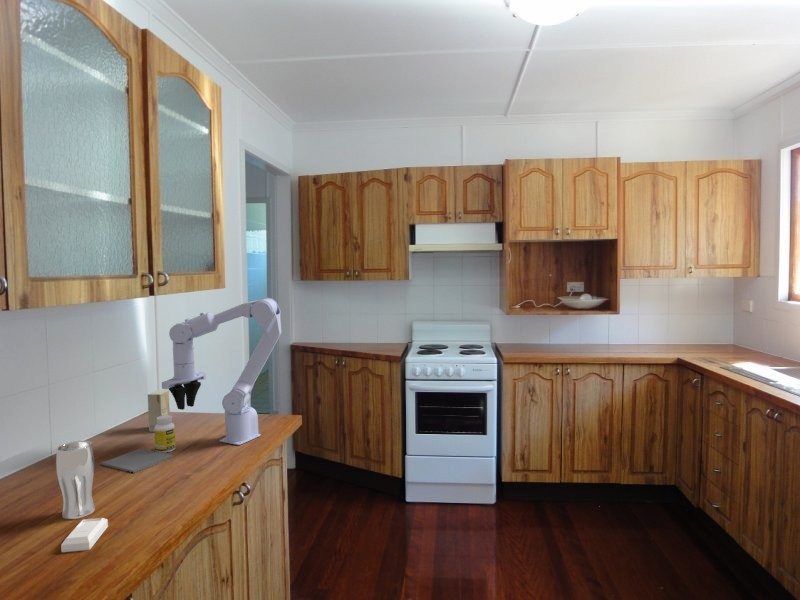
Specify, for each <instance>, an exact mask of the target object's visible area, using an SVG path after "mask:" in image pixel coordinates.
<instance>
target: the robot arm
mask: <svg viewBox="0 0 800 600" xmlns="http://www.w3.org/2000/svg"><path fill="white" fill-rule="evenodd" d="M281 312H282V311H281V309H280V306H279V304H278V303H277V301H276V300H275V299H273V298H271V297H264V298H262V299H256V300H251V301H246V302H244V303H241V304H238V305H236V306H234V307H231V308H229V309H226V310H224V311H221V312H218V313H216V314H215V313H214V314H213V313H212V312H206V311H203V312H200V313H199V315H198V316H195V317H193V318H186V319H184V321H182V322H178V323H176V324H175V325H173V326H172V327H171V328H170V329H169V332H168V333H169V335H168V337H169V338H170V340H171V341H172V358H173V359H172V361H173V362H172V363H173V376H172V378H170V379H167V380H165V381H162V382H161V390H169V393H171V395H172V397H173V398H174V402H175V403H176V407H177V410H183V411H184V410H185V407H186V406H187V407H190V408H191V407H194V405H195V401H196V397H197V395H198V391H199V390H200V388H201V385H202V382H201V380H206V379H207V373H206V372H201V371H200V372H198V373H196V372H195V371H196V370H195V351H194V348H195V347H194V339H195V338H199V337H202V336H204V335H207V334H210V333H212V332H216V331H217V329H218V327H219V326H220V325H221V324H224V323H227V322H230V321H233V320H235V319H238V318H242V317H244V318H248V319H251V318H253V320H255V322H256V323H257V324H258V325H259V327H260V329H261V333H262V335H261V337H260V339H259V341H257V344H256V346H255V349H254V350H253V352H252V354H251V356H250V357H249V359H248V361H247V363H246V365H245V366H244V368H243V371H242V372H241V374H240V375H239V377H238V380H237V381H236V382H235V384H234V385H233V387H232V389H231V390H230V392H228V393H227V394H226V395H224V397H223V398H222V402H221V403H222V404H221V405H222V408H223V410H224V421H225V422H224V424H225V426H224V427H225V437H223V438H220V439H219V442H220V443H226V444H231V445H236V446H241V445H243V444H245V443H247V442H250V441H251V440H254V439H256V438H258V437H260V436H261V435H262V434H261V433H259V417H258V416H259V415H258V413H257V410H256V409H255V408H254V407H252V406H249V402H250V401H251V397H252V396H251V395H252V390H253V389H254V385H255V383H256V381H257V379H258V377H259V376H260V374H261V372H262V369H263V368H264V366H265V365H266V364H267V363H266V362H267V360H268V359H269V357H270V355H271V353H272V351H273V350H274V347H276V344H277V342H278V341H279V339H280V337H281V335H282V323H281V322H282V319H281ZM185 403H186V405H185Z"/></svg>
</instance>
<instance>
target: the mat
mask: <svg viewBox="0 0 800 600" xmlns="http://www.w3.org/2000/svg"><path fill="white" fill-rule="evenodd" d="M169 458H170V459H172V458H173V455H172V454H168V453H161V452H156V451H155V450H152V449H146V448H143V447H141V448H138V449H135V450H133V451H130V452H127V453H124V454H121V455H118V456H117V457H113V458H111V459H108V460H104V461H103V462H101V465H102V466H105V467H108V468H112V469H116V470H120V471H123V470H124V472H127V471H129V472H128V473H131V472H133V473H132V474H135V473H137V471H138V472H140V471H143V470H146V469H147V467H148V468H150V467H153V466H155V465H157V464H160V463H162V462H164V460H165V461H167V460H170V459H169ZM161 461H162V462H161ZM159 462H160V463H159ZM154 464H155V465H154ZM152 465H153V466H152ZM142 469H143V470H142ZM139 470H140V471H139ZM134 472H135V473H134Z"/></svg>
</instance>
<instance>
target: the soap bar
mask: <svg viewBox="0 0 800 600" xmlns="http://www.w3.org/2000/svg"><path fill="white" fill-rule="evenodd" d="M108 527H109V521H108V518H104V517H98V518H87V519H85V518H84V519H82V520H81V521H80V522H79V523H78V524H77V525H76V527H74V529H73V530H72V531H71V532H70V533H69V535H68V536H67V537H66V538H65V539H64V541H63V542H62V543H61V546H60V548H61V553H68V552H70V553H71V552H79V551H89V550H91V549H92V548H93V546H94V545H95V544H96V542H97V541H98V540H99V538H100V537H101V536H102V534H103V533H105V531H106V529H107V528H108Z"/></svg>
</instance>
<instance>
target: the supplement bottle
mask: <svg viewBox="0 0 800 600" xmlns="http://www.w3.org/2000/svg"><path fill="white" fill-rule="evenodd" d="M172 418H173V417H172V415H171V414H170V415H163V416H159V417H157V423H158V424H157V425H156V426H155V427H154V432H153V433H154V451H156V452H161V453H165V454H168V453H170V452H173V451H174V450H175V449H176V427H175V426H176V425H175V423H173V419H172ZM167 452H168V453H167Z"/></svg>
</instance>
